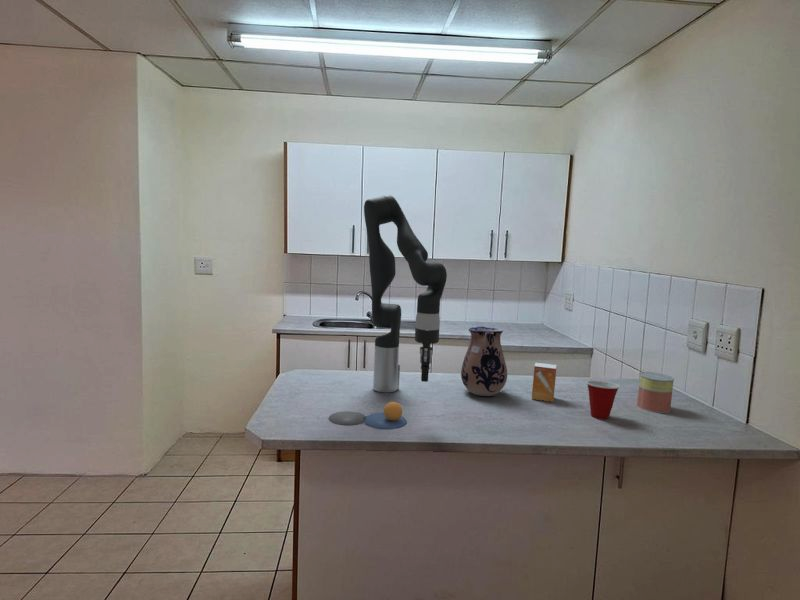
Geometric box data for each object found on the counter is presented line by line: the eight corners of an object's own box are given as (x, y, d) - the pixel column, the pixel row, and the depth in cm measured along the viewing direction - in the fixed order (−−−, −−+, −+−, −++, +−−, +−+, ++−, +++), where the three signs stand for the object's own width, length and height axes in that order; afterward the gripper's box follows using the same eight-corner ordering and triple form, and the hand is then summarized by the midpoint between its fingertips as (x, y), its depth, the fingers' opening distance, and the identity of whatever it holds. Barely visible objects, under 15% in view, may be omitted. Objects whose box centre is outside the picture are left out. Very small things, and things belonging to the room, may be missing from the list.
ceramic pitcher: (469, 401, 189) (474, 334, 186) (450, 384, 210) (454, 323, 207) (513, 399, 193) (518, 333, 190) (491, 383, 214) (495, 323, 211)
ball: (398, 401, 170) (399, 419, 169) (380, 402, 168) (382, 421, 167) (404, 400, 165) (405, 419, 163) (386, 402, 162) (388, 421, 161)
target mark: (385, 410, 175) (385, 409, 175) (415, 422, 165) (415, 421, 165) (354, 419, 165) (354, 419, 165) (384, 432, 155) (384, 432, 155)
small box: (531, 399, 194) (534, 365, 193) (532, 394, 200) (534, 362, 199) (553, 402, 192) (556, 368, 190) (554, 397, 198) (556, 364, 196)
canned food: (674, 408, 192) (678, 377, 190) (665, 415, 183) (668, 382, 182) (642, 400, 199) (645, 370, 198) (632, 407, 191) (635, 375, 189)
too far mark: (349, 409, 174) (350, 408, 174) (374, 419, 166) (374, 418, 166) (321, 417, 166) (321, 416, 166) (345, 428, 158) (345, 427, 158)
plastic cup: (615, 413, 182) (618, 380, 181) (617, 423, 172) (621, 389, 171) (583, 409, 186) (586, 376, 184) (583, 418, 176) (586, 384, 174)
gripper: (416, 322, 167) (413, 374, 169) (414, 329, 154) (411, 386, 156) (439, 323, 167) (436, 376, 169) (439, 331, 154) (436, 387, 156)
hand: (424, 380), depth 163 cm, fingers closed
